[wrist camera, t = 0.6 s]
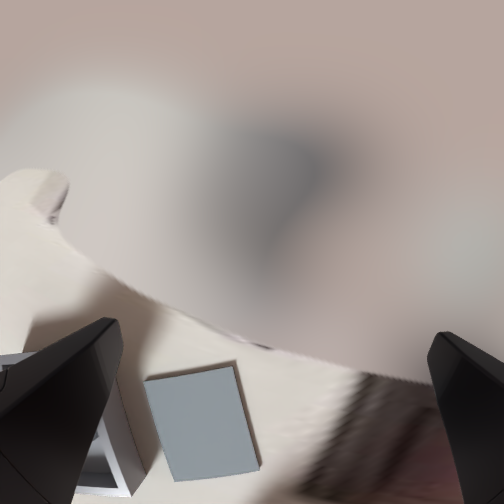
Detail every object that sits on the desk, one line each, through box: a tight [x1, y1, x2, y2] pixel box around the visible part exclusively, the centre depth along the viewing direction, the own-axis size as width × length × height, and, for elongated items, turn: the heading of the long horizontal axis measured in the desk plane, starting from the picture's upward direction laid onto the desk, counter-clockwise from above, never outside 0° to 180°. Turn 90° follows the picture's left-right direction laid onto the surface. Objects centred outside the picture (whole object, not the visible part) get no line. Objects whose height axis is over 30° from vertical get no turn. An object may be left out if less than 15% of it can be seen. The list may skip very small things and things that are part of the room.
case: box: [0, 351, 146, 497], centre depth 20 cm, size 12×10×4 cm
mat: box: [143, 366, 260, 482], centre depth 22 cm, size 9×7×1 cm
